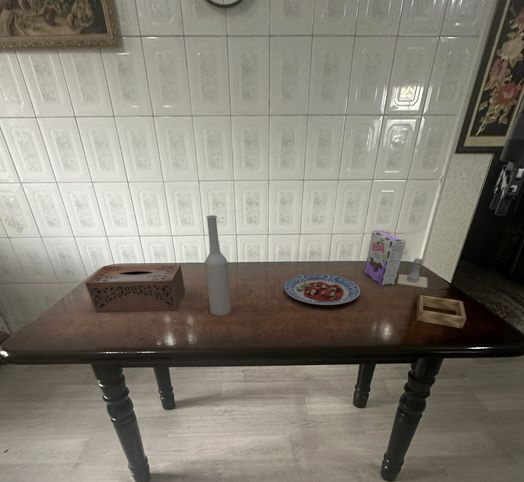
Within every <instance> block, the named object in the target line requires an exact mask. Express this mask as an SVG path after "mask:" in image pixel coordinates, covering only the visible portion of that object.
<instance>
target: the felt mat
mask: <svg viewBox="0 0 524 482" xmlns="http://www.w3.org/2000/svg"><path fill="white" fill-rule="evenodd" d="M408 275H409V274H402V273H399V274H398V278H397V285H401V286H402V285H403V286H407V287H415V288H416V287H417V288H424V289H428V277H427V276H420V278H419V281H418V282H410V281H408V280H407V277H408Z"/></svg>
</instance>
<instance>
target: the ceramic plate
mask: <svg viewBox="0 0 524 482" xmlns="http://www.w3.org/2000/svg"><path fill="white" fill-rule="evenodd" d="M284 291H285V292H286V293H287V295H288V296H290V297H291V298H293V299H295V300H297V301H300V302H303V303H307V304H312V305H319V306H335V305H342V304H346V303H350V302H352V301H354V300H356V299H357V298H359V296H360V294H361V288H360V286H359V285H358V284H356V283H355V282H354V281H352V280H351V279H348V278H345V277H341V276H339V275H338V276H337V275H333V274H325V273H312V274H303V275H299V276H295V277H292V278H291V279H289V280H287V281H286V283H285V284H284Z"/></svg>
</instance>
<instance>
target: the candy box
mask: <svg viewBox="0 0 524 482" xmlns="http://www.w3.org/2000/svg"><path fill="white" fill-rule="evenodd" d="M406 242H407V239H406V238H403V237H400V236H398V235H397V234H394V233H393V232H390V231H388V229H379V230H378V229H377V230H372V231H371V237H370V241H369V247H368V252H367V258H366V263H365V268H364V271H363V272H364V274H365V275H367V276H368V277H369V278H371V280H373V281H374V282H376V284H378V285H379V286H392V285H395V283H396V279H397V276H398V271H399V268H400V265H401V262H402V258H403V254H404V250H405V246H406Z"/></svg>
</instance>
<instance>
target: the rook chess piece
mask: <svg viewBox="0 0 524 482" xmlns="http://www.w3.org/2000/svg"><path fill="white" fill-rule="evenodd" d="M423 264H424V261H423V259H422V258H420V257H416V258H415V259H414V260H413V264H412V268H411V270H410V272H409V274H407V275H408V277H407V280H408V281H410V282H418V281H419V278H420V277H421V274H420V269H421V268H422V265H423Z"/></svg>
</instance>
